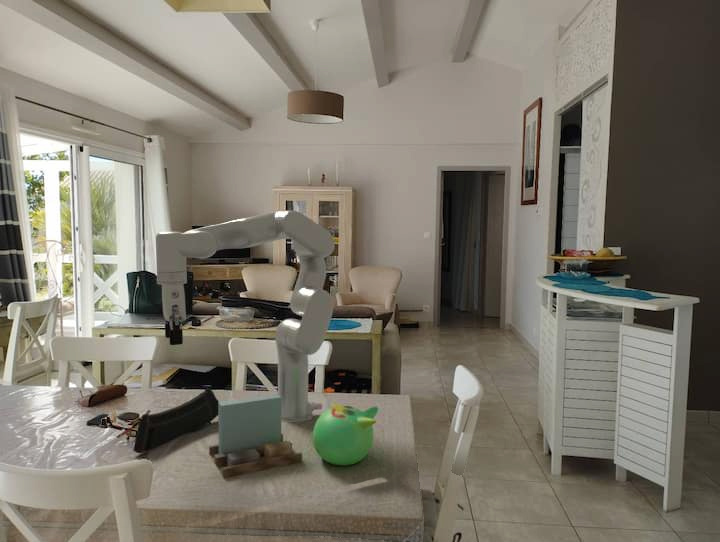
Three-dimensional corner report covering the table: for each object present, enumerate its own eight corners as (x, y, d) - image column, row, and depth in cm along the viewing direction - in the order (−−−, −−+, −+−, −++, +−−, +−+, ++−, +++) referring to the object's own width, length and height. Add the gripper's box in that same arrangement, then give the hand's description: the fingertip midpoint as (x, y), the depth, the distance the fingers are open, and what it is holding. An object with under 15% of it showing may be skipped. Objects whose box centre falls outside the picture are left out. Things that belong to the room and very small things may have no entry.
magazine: (133, 427, 134) (211, 368, 159) (124, 425, 135) (203, 366, 160) (150, 481, 139) (223, 416, 165) (141, 478, 141) (214, 414, 166)
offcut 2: (286, 453, 138) (286, 440, 138) (291, 459, 135) (291, 446, 134) (264, 458, 135) (264, 444, 135) (269, 464, 132) (269, 450, 132)
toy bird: (316, 445, 146) (317, 393, 145) (377, 447, 146) (378, 395, 145) (308, 475, 128) (308, 417, 127) (377, 477, 128) (378, 418, 127)
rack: (281, 442, 148) (281, 432, 147) (302, 465, 134) (302, 454, 133) (208, 456, 138) (208, 445, 138) (223, 482, 124) (223, 470, 124)
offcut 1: (254, 460, 134) (254, 448, 134) (259, 466, 131) (259, 454, 130) (227, 465, 131) (227, 453, 131) (231, 472, 127) (231, 460, 127)
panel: (277, 444, 144) (277, 394, 143) (281, 448, 142) (281, 397, 141) (218, 455, 137) (218, 402, 136) (221, 459, 134) (221, 405, 133)
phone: (101, 413, 166) (145, 417, 164) (101, 417, 166) (145, 420, 164) (84, 422, 158) (130, 426, 156) (84, 426, 158) (130, 430, 156)
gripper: (191, 280, 135) (193, 346, 136) (181, 274, 150) (183, 333, 152) (160, 281, 132) (162, 349, 133) (153, 275, 147) (155, 336, 149)
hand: (173, 340), depth 142 cm, fingers open, 9 cm apart
